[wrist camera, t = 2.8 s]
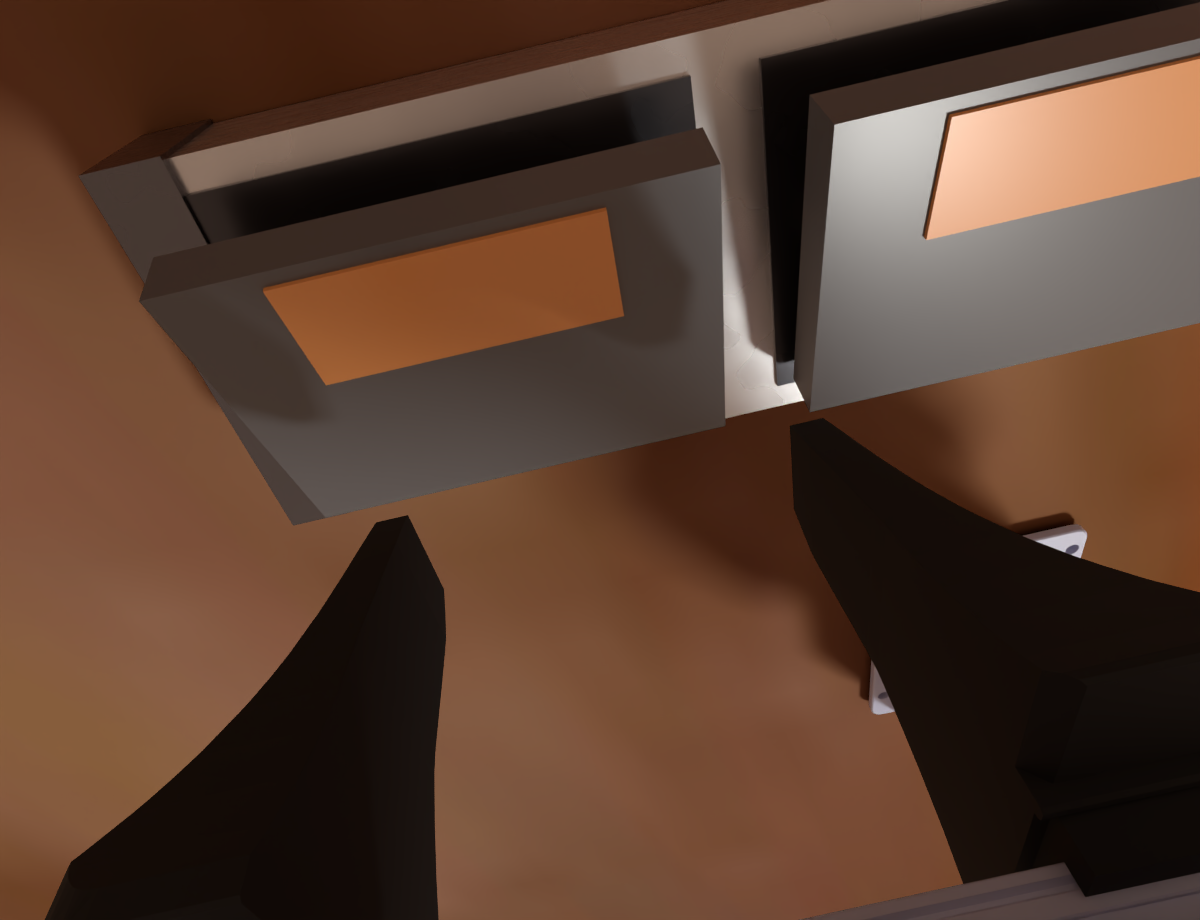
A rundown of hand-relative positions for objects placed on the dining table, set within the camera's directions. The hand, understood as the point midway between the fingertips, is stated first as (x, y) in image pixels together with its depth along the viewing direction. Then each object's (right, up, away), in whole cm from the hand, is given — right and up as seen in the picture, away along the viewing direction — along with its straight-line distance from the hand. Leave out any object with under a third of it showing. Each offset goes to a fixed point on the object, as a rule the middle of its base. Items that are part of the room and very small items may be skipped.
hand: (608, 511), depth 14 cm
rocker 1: (-3, +4, +2) cm, 5 cm away
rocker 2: (+9, +6, +2) cm, 11 cm away
